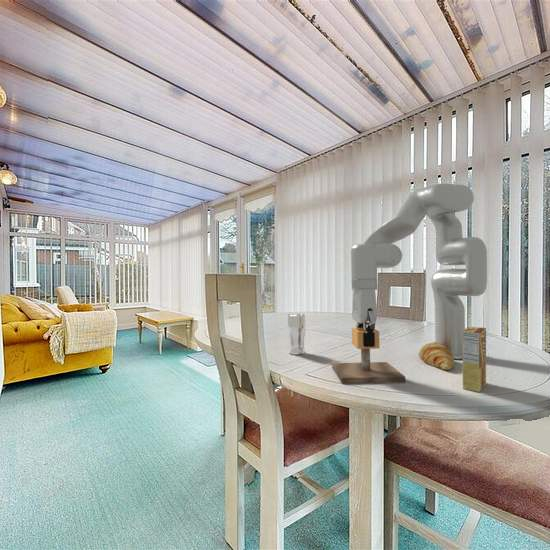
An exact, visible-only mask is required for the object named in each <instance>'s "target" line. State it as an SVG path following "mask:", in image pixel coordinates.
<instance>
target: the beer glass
mask: <svg viewBox="0 0 550 550" xmlns="http://www.w3.org/2000/svg"><path fill="white" fill-rule="evenodd" d="M287 333H288V338H289V339H288V340H289V346H290V347H289V350H288V351H289V353H288V354H289V355H293V356H302V355H301V354H303V355H305V354H304V353H306V351H305V346H304V345H305V343H304V342H305V335H306V316H305V314H303V313H289V314H287Z"/></svg>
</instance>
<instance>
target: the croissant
mask: <svg viewBox="0 0 550 550" xmlns="http://www.w3.org/2000/svg"><path fill="white" fill-rule="evenodd" d="M418 356H419V358H420V360H421V361H422V362H424V363H425V364H428V365H430V366H432V367H435V368H438V369H441V370H444V371H448V370H451V369H452V368H453V367H454V365H455V359H453V357H452V354H451V352H450V351H449V349H448V348H447V347H446V346H444V345H442V344H439V343H437V342H430V343H429V342H428V343H426V344H425V345H423V346H422V347H421V348H420V349H419V352H418Z"/></svg>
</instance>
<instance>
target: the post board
mask: <svg viewBox="0 0 550 550" xmlns="http://www.w3.org/2000/svg"><path fill="white" fill-rule="evenodd" d="M360 358H361V359H360V361H361V362H332V363H331V368H332V370H333V372H334V373H335V376H337V379H338V380H339V382H340V383H341V384H367V383H368V384H370V383H371V384H372V383H373V384H374V383H377V382H382V383H406V376H405V375H404V374H403V373H401V372H400V371H399V370H398V369H397V368H395V367H394V366H392V365H391V364H390V363H389V362H387V361H379V362H377V361H376V362H373V361H371V349H360Z"/></svg>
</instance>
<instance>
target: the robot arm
mask: <svg viewBox="0 0 550 550" xmlns="http://www.w3.org/2000/svg"><path fill="white" fill-rule="evenodd" d="M474 198H475V197H474V192H473V191H472V189H471V188H470V187H469V186H467V185H465V184H456V183H455V184H454V183H436V184H431V185H428V186H425V187H422V188H418V189H416V190H413V191H411V192H410V193H409V194H408V195H407V196H406V198H405V199H404V201H402V203H401V204H400V206H399V207H398V209H397V210H396V212H395V213H394V214H393V216H392V217H391V218H390V219H389V220H388V221H386V222H384V223H383V224H382V225H380V226H379V227H378V228H377V229H376V230H374V231H373V232H372V233H371V234H370V235H369V236H368V237H367V238H366V240H365V241H364V242H363V243H361V244H359V243H358V244H354V245H353V246H352V247H351V249H350V266H351V267H350V271H351V273H350V274H351V275H350V276H351V291H352V292H353V293H352V306H351V307H352V310H351V311H352V313H351V315H352V316H351V317H352V320H354V322H355V323H356V324H355V325H356V326H355V328H364V333H363V346H364V347H374V346H375V329H376V324H377V323H376V322H377V321H378V320H377V317H378V316H377V315H378V313H377V311H378V310H377V309H378V308H377V295H376V291H377V290H378V269H390V268H394V267H396V266H397V265H399V264H400V263H401V262H402V259H403V252H402V250H401V249H400V247H399V246H398V245H396V244H394V243H396V242H398V241H401V240H403V239H405V238H407V237H409V236H410V235H412V234H414V233H415V232H416V231H417V229H418V227H419V225H420V224H421V223H422V221H423V220H424V218H425V217H426V216H427V217H428V219H429V220H430V221H431V223H432V224H433V226H434V228H435V230H434V231H435V258H436V261H437V263H439V264H440V265H442V266H465V268H446V269H440V270H437V271H435V272H434V273H433V274H432V277H431V279H430V281H431V282H430V283H431V288H432V293H433V299H434V331H435V332H434V334H435V335H434V341H435V342H437V343H439V344H442V345H444V346H446V347H447V348H448V349H449V351H450V352H451V354H452V357H453V359H454V360H463V334H462V331H464V330H465V329H466V327H465V325H466V320H465V317H466V316H465V314H466V313H465V311H466V310H465V305H464V303H463V301H462V299H461V298H460V296H461V297H479V296H481V295H484V293H485V292H486V290H487V287H488V250H487V245H486V243H485V242H484V240H482V239H481V238H479V237H477V236H476V237H474V236H470V237H469V236H468V237H463V226H462V223H461V220H460V219H459V218H458V217H457V216H456V215H455V214H454V213H458V212H463V211H466V210H468V209H470V208H471V206H472V205H473V203H474Z"/></svg>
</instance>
